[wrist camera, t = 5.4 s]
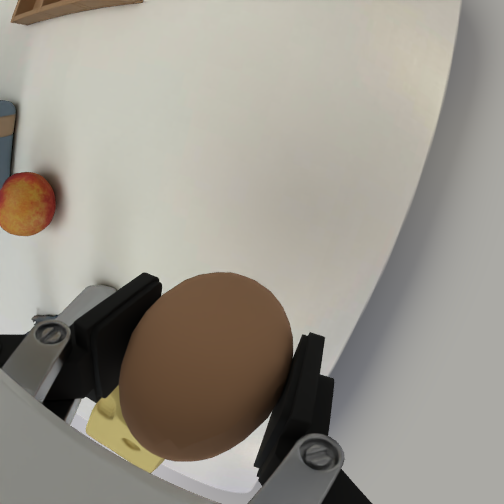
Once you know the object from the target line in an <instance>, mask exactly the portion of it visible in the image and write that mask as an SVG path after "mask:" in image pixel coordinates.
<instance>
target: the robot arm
mask: <svg viewBox="0 0 504 504" xmlns="http://www.w3.org/2000/svg"><path fill="white" fill-rule="evenodd" d="M161 292H162V284H161V283H160V282H159V279H158V277H155V276H153V275H150V274H148V273H142V274H141V275H139V276H138V277H136V278H135V279H133V280H132V281H131V282H129V283H128V284H126V285H125V286H123V287H122V288H120V289H119V290H117V291H116V292H115V293H113V294H112V295H110V296H109V297H107V298H106V299H105V300H103V301H102V302H100V303H99V304H98V305H96V306H95V307H93V308H92V309H90V310H89V311H88V312H86V313H85V314H84V315H82V316H81V317H79V318H78V319H77V320H75V321H74V323H73V324H72V325H70V326H68V325H66V324H65V323H64V322H62V321H59V320H44V321H41V322H39V323H37V324H36V325H35V326H34V327H33V328H32V329H31V331H30V332H29V333H28V334H27V335H0V504H221V503H218V502H215V501H212V500H210V499H207V498H204V497H202V496H199V495H197V494H194V493H192V492H190V491H187V490H185V489H183V488H180V487H178V486H175V485H174V484H171V483H169V482H167V481H165V480H163V479H161V478H159V477H157V476H154V475H153V474H151V473H149V472H147V471H145V470H143V469H141V468H139V467H137V466H135V465H133V464H131V463H130V462H128V461H126V460H124V459H122V458H121V457H119V456H117V455H116V454H114V453H112V452H110V451H109V450H107V449H105V448H104V447H102V446H100V445H99V444H97V443H96V442H94V441H93V440H91V439H90V438H88V437H86V436H85V435H83V434H82V433H80V432H79V431H78V430H76V429H75V428H73V427H72V426H70V424H71V422H72V420H73V417H74V415H75V413H76V411H77V409H78V406H79V404H80V402H81V399H82V398H85V397H88V398H89V399H91V400H92V401H94V402H95V403H97V402H98V401H99V400H100V399H101V398H107V397H108V396H109V395H110V394H111V393H112V391H113V390H114V389H115V388H116V387H117V386H118V385H119V377H120V370H121V365H122V361H123V358H124V355H125V352H126V349H127V346H128V343H129V340H130V337H131V334H132V333H133V331H134V329H135V328H136V326H137V325H138V323H139V322H140V320H141V319H142V317H143V316H144V314H145V313H146V311H147V310H148V309H149V308H150V307H151V306H152V305H153V304H154V303H155V302H156V301H157V300H158V299H159V298H160V297H161ZM324 341H325V337H323V336H320V335H317V334H314V333H311V332H310V333H309V335H308V336H306V335H302V337H301V339H300V342H299V344H298V347H297V349H296V352H295V354H294V356H293V359H292V364H291V369H290V372H289V375H288V378H287V381H286V384H285V387H284V389H283V392H282V395H281V397H280V399H279V401H278V402H277V404H276V405H275V407H274V409H273V411H272V414H271V417H270V420H269V423H268V426H267V429H266V432H265V435H264V437H263V440H262V443H261V446H260V449H259V452H258V455H257V457H256V460H255V463H254V467H257V468H259V470H258V473H257V477H259V479H258V480H259V482H260V483H261V485H262V488H260V490H259V491H258V492H257V493H256V494H255V496H254V497H253V498H252V499H251V500H250V501H249V502H248V504H372V503H371V502H370V501H369V500H368V499H367V497H366V496H365V495H364V494H363V493H362V492H361V491H360V490H359V489H358V487H357V486H356V485H355V484H354V483H353V482H352V481H351V479H349V477H348V476H347V475H346V474H345V473H344V471H343V470H342V469H341V467H342V466H343V462H344V452H343V450H342V448H341V446H340V445H339V444H338V443H337V442H336V441H335V440H334V439H332V438H331V437H329V436H328V431H329V424H330V416H331V407H332V398H333V389H334V379H333V378H330V377H327V376H323V375H320V369H321V362H322V355H323V348H324Z"/></svg>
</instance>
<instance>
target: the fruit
mask: <svg viewBox="0 0 504 504" xmlns="http://www.w3.org/2000/svg"><path fill="white" fill-rule="evenodd" d="M55 209H56V203H55V195H54V192H53V189H52V187H51V185H50V184H49V182H48V181H47V180H46V179H45V178H44V177H42V176H41V175H39V174H36V173H32V172H21V173H16V174H13V175H12V176H10V177H8V178H7V179H6V180H5V182H4V184H3V187H2V188H1V190H0V226H1V227H2V228H3V229H4V230H5V231H7V232H8V233H10V234H14V235H18V236H30V235H34V234H36V233H38V232H40V231H42V230H43V229H45V228H46V227H47V226H48V225H49V224H50V222H51V221H52V218H53V216H54V213H55Z"/></svg>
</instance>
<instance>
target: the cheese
mask: <svg viewBox="0 0 504 504" xmlns="http://www.w3.org/2000/svg"><path fill="white" fill-rule="evenodd" d="M86 433H87V434H88V435H89V436H91V437H92V438H93V439H95V440H96V441H98V442H99V443H101V444H103V445H104V446H106V447H108V448H109V449H111V450H112V451H114V452H115V453H117V454H118V455H120V456H121V457H123V458H124V459H126V460H127V461H129V462H130V463H132V464H133V465H135V466H137V467H139V468H141V469H143V470H145V471H147V472H149V473H152V472H153V471H154V470H155V469H156V468H157V467H158V466H159V465H160V464H161V463H162V462H163V461H164V460H165V459H163V458H161V457H159V456H156V455H154V454H152V453H150V452H149V451H148V450H146V449H145V448H144V447H142V446H141V445H140V444H139V443H138V441H137V440H136V439H135V438H134V437H133V435H132V434H131V432H130V430H129V428H128V426H127V424H126V422H125V420H124V418H123V416H122V412H121V407H120V401H119V385H118V386H117V387H116V388H115V389H114V390H113V391H112V393H111V394H110V395H109V396H108V397H107V398H101V399H100V400H99V401H98V402H97V403H96V405H95V407H94V408H93V410H92V412H91V415H90V418H89V421H88V424H87V426H86Z"/></svg>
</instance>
